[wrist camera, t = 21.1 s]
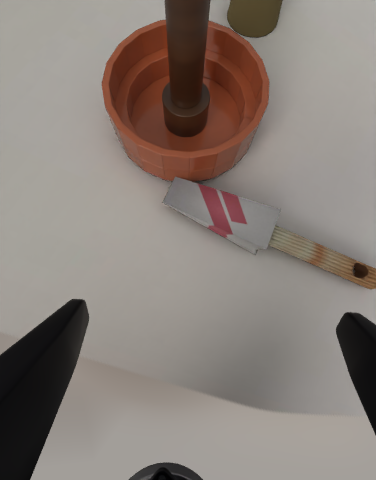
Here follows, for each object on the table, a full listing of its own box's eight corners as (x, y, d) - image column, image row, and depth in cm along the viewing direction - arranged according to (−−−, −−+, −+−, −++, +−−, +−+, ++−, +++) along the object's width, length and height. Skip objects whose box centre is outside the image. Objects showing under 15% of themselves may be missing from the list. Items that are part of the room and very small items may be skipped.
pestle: (208, 137, 25) (230, -4, 13) (164, 138, 25) (148, -4, 13) (205, 100, 26) (224, -63, 14) (163, 100, 26) (147, -63, 14)
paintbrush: (178, 163, 21) (392, 259, 21) (177, 177, 24) (367, 263, 23) (158, 201, 20) (381, 302, 20) (160, 211, 23) (357, 301, 23)
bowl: (189, 213, 24) (191, 192, 19) (89, 124, 26) (67, 84, 21) (279, 120, 26) (302, 80, 21) (182, 45, 28) (182, -7, 23)
